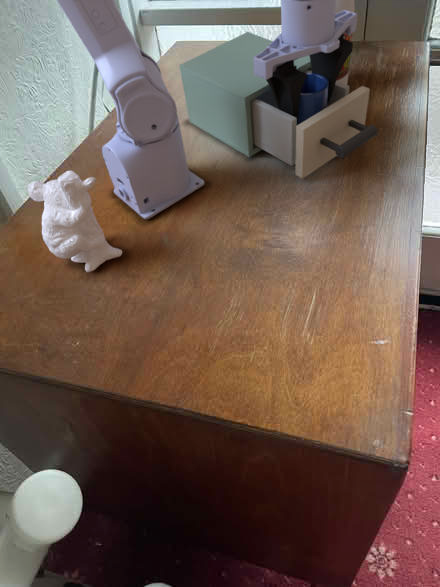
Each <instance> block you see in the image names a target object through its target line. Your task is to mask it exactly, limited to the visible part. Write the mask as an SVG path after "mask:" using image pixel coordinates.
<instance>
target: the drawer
mask: <svg viewBox="0 0 440 587" xmlns="http://www.w3.org/2000/svg"><path fill="white" fill-rule="evenodd" d="M303 72H304V73H312V71H310V70H308V69H307V70H305V71H303ZM370 90H371V89H370V88H369V87H366V86H364V85H361V86H360V87H357V89H355V90H353V91H352V92H350V85H348V84H347V85H345V84H343V83H340V82H338V81H336V83H335V86H334V89H333V92H332V95H331V98H330V100H329V103H328V104H327V108H325V109H323V110H322V111H320V112H319V113H317V114H315V115H314V116H312V117H310V118H309V119H307V120H305V121H304V122H302V123H300V124H299V125H297V118H295V117H293V116H291V115H289V114H287V113H285V112H283V111H281V110H279V108H278V105H277V102H276V99H275V96H274V94H273V92H272V90H269V91H267V92H265V93H263V94H262V95H260V96H258V97H256V98H254V99H253V100H251V101H250V110H251V125H252V140H253V144H254V145H256V146H258V147H259V148H261V149H262V151H265V152H266V153H268V154H270V155H272V156H273V157H275V158H277V159H279V160H281V161H282V162H284V163H286V164H288V165H289V166H291V167H292V166H294V165H295V174H294V175H295V176H297V177H298V178H300V179H304V178H305V177H307V176H308V175H310V174H312V173H313V172H314V171H316V170H317V169H320V168H321V167H322V166H323V165H325V164H327V163H328V162H330V161H331V160H332V159H334V158H336V157H338V158H339V159H343V158H345V157H346V156H349V154H351V153H353V152H354V151H355V150H357V149H358V148H359V147H361V146H363V145H364V144H366V143H367V142H369V141H371V140H372V139H373V138H375V137H376V136H377V135H378V134H379V128H378V127H377V126H376V125H375V124H370V125H366V119H367V113H368V106H369V98H370Z"/></svg>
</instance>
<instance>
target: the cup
mask: <svg viewBox="0 0 440 587" xmlns="http://www.w3.org/2000/svg"><path fill="white" fill-rule="evenodd" d="M306 74H307V77H306V79H305V81H304V84H303V87H302V90H301V95H300V100H299V113H298V119H297V125H299V124H300V123H302V122H304V121H305V120H307V119H309V118H310V117H312V116H314V115H315V114H317V113H319V112H320V111H322V110H323V109H325V108H327V101H328V87H329V81H328V80H327V78H326V77H324V76H322V75H319V74H314V73H306Z"/></svg>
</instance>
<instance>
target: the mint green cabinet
mask: <svg viewBox="0 0 440 587" xmlns="http://www.w3.org/2000/svg"><path fill="white" fill-rule="evenodd" d="M273 41H274V40H271V39H268V38H265V37H263V36H260V35H258V34H255V33H252V32H249V31H246V32H244V33H242V34H240V35H238V36H236V37H234V38H232V39H229V40H228V41H226V42H224V43H222V44H220V45H218V46H216V47H214V48H211V49H210V50H207V51H205V52H203V53H201V54H200V55H198V56H195V57H194V58H191V59H189V60H187V61H185V62H182V63H180V64H179V65H178V66H179V71H180V76H181V82H182V87H183V94H184V98H185V99H184V100H185V105H186V109H187V115H188V120H189V123H191V124H192V125H194V126H196V127H198V128H199V129H201V130H203V131H204V132H206V133H208V134H209V135H211V136H212V137H214V138H215V139H217V140H219V141H221V142H222V143H224V144H226V145H227V146H230V147H231V148H233V149H234V150H236V151H238V152H240V153H241V154H243V155H244V156H245V157H248V158H251V157H253V156H254V155H256V154H258V153H260V152H261V151H263V149H261V148H259V147H258V146H256V145H254V144H253V140H252V125H251V110H250V101H251V100H253V99H254V98H256V97H258V96H260V95H262V94H263V93H265V92H267V91H269V90H271V88H270V86H269V84H268V82H267V81H266V80H265V79H263V78H261V77H258V76H256V75H254V62H253V57H255V56H256V55H258V54H260V53H261V52H262V51H263V50H265V49H266V48H267V47H268V46H269V45H270V44H271V43H272V42H273ZM295 65H296V66H297V69H296V70H299V71H301V72H303V71H305V70H307V69H308V70H310V71H312V68H311V61H310V56H309V55H308V56H305V57H301V58H298V59H297V60H295V61H294V66H295Z"/></svg>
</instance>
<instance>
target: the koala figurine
mask: <svg viewBox="0 0 440 587" xmlns="http://www.w3.org/2000/svg"><path fill="white" fill-rule="evenodd" d="M96 182H97V178H96V177H94V176H89V177H88V178H86V179H83V180H82V179H81V176H80V175H79V174H78V173H76V172H75V171H73V170H67V171H65V172H64V173H61V175H59V176H58V177H57V179H51V180H49V181H47V182H46V183H44V182H42V181H39V180H34V181H31V182H30V183H29V184H28V186H27V192H28V195H29V198H31V199H32V201H34V202H43V201H44V202H43V207H44V209H43V212H42V215H41V235H42V239H43V242H44V243H45V246H47V248H48V250H49V251H50V253H51V254H53V255H54V256H56V257H57V258H60V259H62V260H67V259H69V260H71V261H72V262H74V263H79V264H84V270H85V272H86V273H90V272H93V271H95V270H96V269H97V268H99V266H100V265H102V264H103V263H105V262H106V261H109V260H112V259H116V258H120V257H121V256H122V254H123V250H122V249H120V248H117V247H113V246H111V245H110V244H109V243H108V240H107V239H106V237H105V234H104V231H103V229H102V227H101V225H100V223H99V222H98V219H97V218H96V216H95V213H94V211H93V208H94V207H92V202H93V201H92V198H91V194H90V193H89V192H88V191H89V190H90V189H92V188H93V186H94V185H95V183H96Z"/></svg>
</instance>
